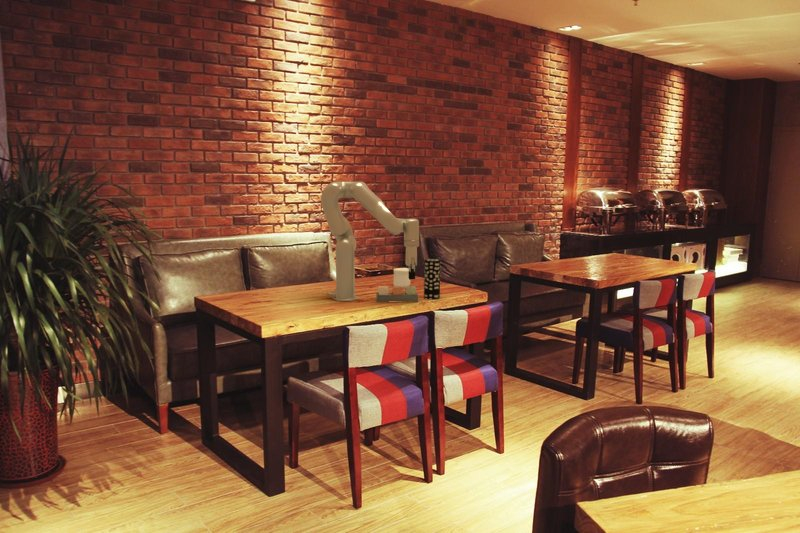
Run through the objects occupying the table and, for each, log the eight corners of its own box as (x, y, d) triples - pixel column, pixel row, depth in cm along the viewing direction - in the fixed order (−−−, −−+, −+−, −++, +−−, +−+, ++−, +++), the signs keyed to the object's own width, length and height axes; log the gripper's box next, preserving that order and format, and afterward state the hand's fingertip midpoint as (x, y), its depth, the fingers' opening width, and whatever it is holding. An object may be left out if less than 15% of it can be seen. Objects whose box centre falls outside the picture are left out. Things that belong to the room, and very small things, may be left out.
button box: (376, 302, 324) (377, 295, 324) (376, 299, 331) (376, 292, 330) (417, 301, 326) (418, 295, 326) (416, 299, 333) (416, 292, 333)
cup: (391, 286, 365) (391, 269, 364) (396, 283, 375) (396, 267, 373) (407, 288, 363) (407, 270, 361) (412, 284, 372) (412, 268, 371)
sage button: (406, 297, 327) (406, 287, 326) (405, 295, 331) (405, 286, 330) (415, 297, 327) (415, 287, 326) (414, 295, 332) (414, 286, 331)
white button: (378, 297, 325) (378, 288, 324) (378, 296, 330) (378, 286, 329) (388, 297, 326) (388, 288, 325) (387, 295, 330) (387, 286, 329)
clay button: (392, 297, 326) (392, 288, 325) (391, 295, 330) (391, 286, 330) (402, 297, 326) (402, 287, 326) (401, 295, 331) (401, 286, 330)
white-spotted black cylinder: (438, 299, 332) (439, 261, 329) (422, 299, 333) (423, 260, 330) (440, 296, 340) (441, 259, 337) (425, 295, 341) (425, 258, 338)
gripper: (402, 241, 332) (402, 276, 335) (405, 245, 317) (406, 282, 320) (417, 241, 333) (417, 276, 335) (421, 244, 318) (421, 281, 321)
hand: (411, 279), depth 328 cm, fingers closed
